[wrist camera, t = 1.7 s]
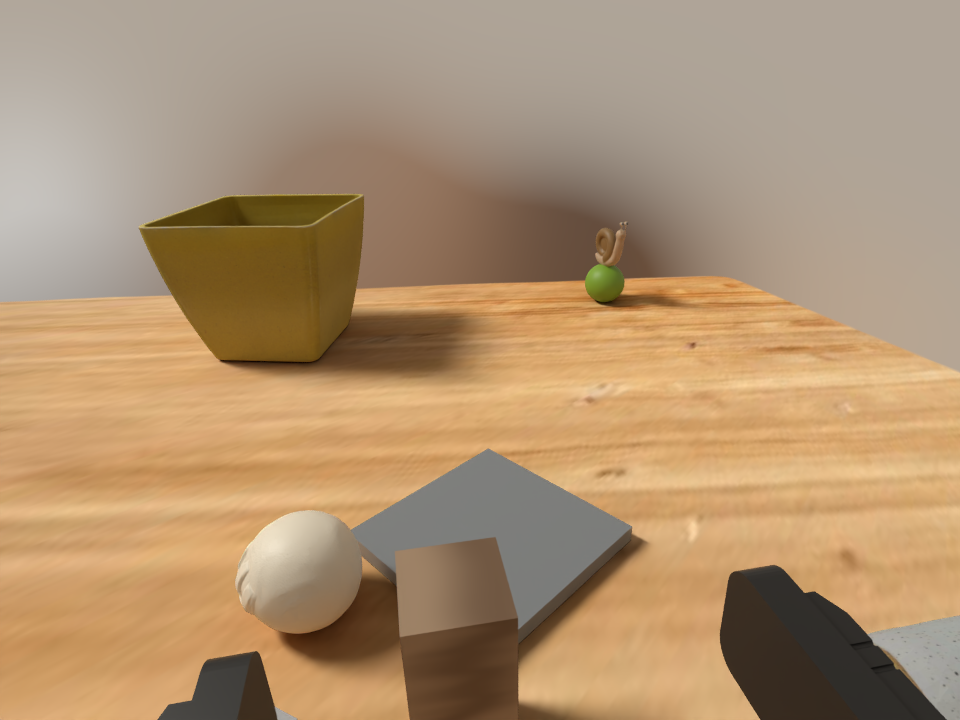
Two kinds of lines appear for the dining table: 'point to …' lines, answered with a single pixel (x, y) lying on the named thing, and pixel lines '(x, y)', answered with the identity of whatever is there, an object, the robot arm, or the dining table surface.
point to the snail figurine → (607, 266)
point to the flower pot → (263, 271)
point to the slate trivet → (502, 531)
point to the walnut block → (457, 632)
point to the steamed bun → (300, 572)
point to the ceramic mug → (928, 659)
